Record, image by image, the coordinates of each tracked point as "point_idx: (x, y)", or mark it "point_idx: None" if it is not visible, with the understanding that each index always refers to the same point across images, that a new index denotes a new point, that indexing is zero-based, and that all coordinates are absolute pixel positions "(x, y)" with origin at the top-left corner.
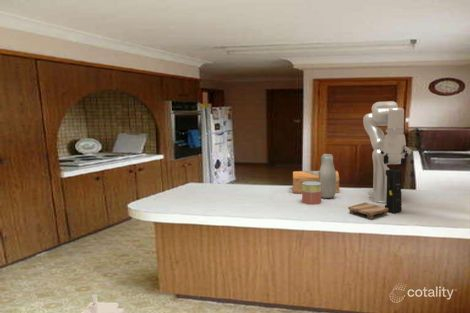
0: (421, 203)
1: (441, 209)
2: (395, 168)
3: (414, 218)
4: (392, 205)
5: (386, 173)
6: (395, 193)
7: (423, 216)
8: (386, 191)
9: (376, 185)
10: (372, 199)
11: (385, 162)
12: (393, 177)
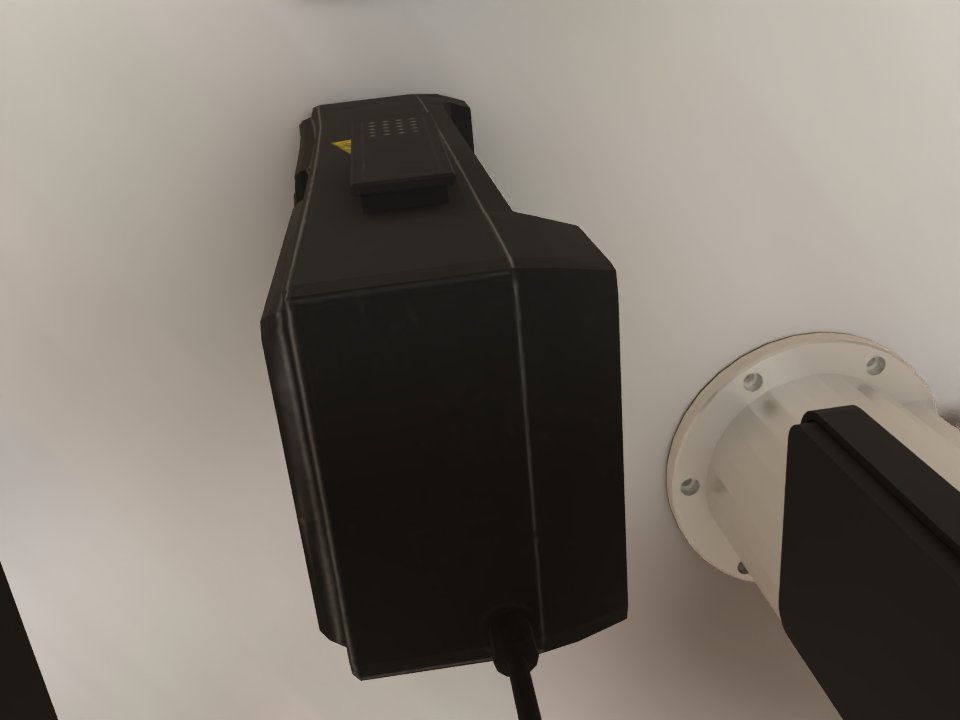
0: (437, 702)
1: (168, 694)
2: (515, 626)
3: (25, 162)
4: (329, 115)
5: (550, 231)
6: (300, 195)
7: (46, 329)
8: (766, 513)
9: (941, 474)
10: (860, 343)
11: (817, 477)
12: (299, 235)
